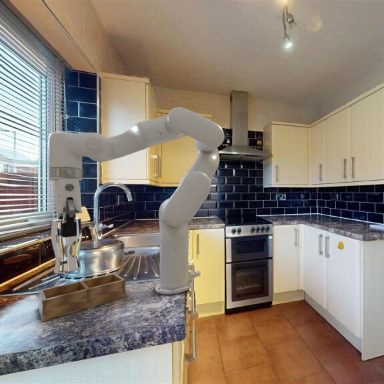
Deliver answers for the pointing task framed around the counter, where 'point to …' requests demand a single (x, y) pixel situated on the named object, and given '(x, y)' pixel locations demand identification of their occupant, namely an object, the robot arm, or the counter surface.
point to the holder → (80, 295)
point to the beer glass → (66, 247)
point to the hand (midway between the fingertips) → (67, 235)
